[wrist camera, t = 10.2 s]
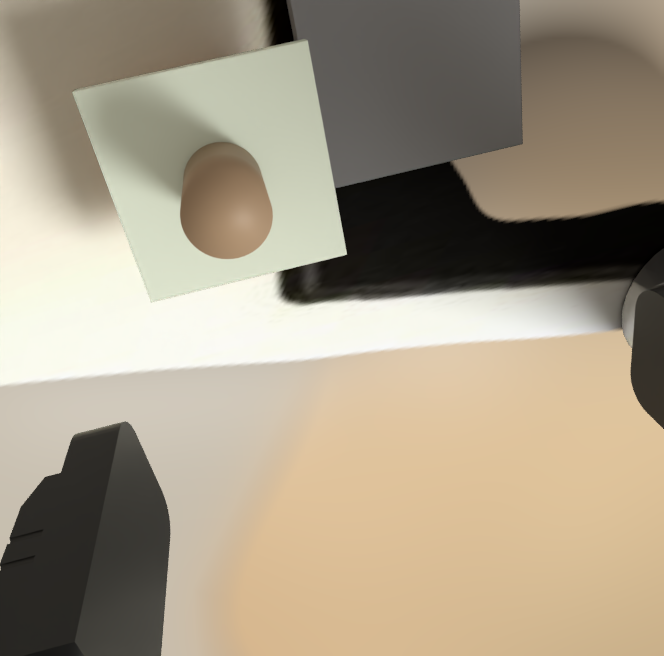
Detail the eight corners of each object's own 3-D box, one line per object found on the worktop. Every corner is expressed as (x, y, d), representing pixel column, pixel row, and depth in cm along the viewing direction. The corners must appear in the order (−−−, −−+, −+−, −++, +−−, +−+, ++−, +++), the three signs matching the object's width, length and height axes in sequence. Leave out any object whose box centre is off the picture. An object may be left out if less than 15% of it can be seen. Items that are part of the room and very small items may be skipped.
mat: (502, -94, 27) (517, -98, 26) (509, 137, 32) (522, 143, 31) (277, -47, 26) (281, -49, 25) (321, 181, 31) (326, 190, 30)
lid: (304, 38, 24) (328, 51, 20) (343, 248, 29) (370, 297, 24) (76, 89, 24) (45, 113, 19) (152, 294, 28) (142, 354, 24)
